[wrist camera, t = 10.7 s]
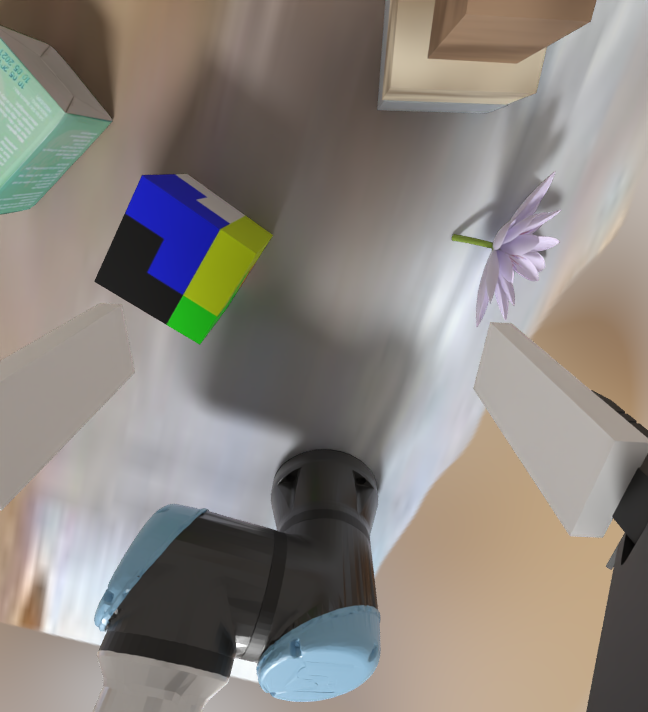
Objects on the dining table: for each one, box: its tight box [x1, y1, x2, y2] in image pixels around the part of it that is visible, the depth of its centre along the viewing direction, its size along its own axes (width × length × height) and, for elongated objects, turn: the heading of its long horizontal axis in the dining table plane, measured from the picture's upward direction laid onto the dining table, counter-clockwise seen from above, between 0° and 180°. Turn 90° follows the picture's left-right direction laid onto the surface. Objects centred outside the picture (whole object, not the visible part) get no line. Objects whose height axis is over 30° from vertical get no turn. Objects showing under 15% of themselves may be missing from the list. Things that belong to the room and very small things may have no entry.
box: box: [0, 25, 112, 214], centre depth 33 cm, size 7×14×8 cm, turn 126°
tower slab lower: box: [377, 0, 508, 113], centre depth 31 cm, size 10×10×5 cm
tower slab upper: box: [382, 0, 547, 105], centre depth 26 cm, size 10×10×5 cm
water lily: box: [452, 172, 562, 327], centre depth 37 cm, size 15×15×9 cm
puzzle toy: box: [94, 174, 273, 344], centre depth 36 cm, size 10×10×10 cm
